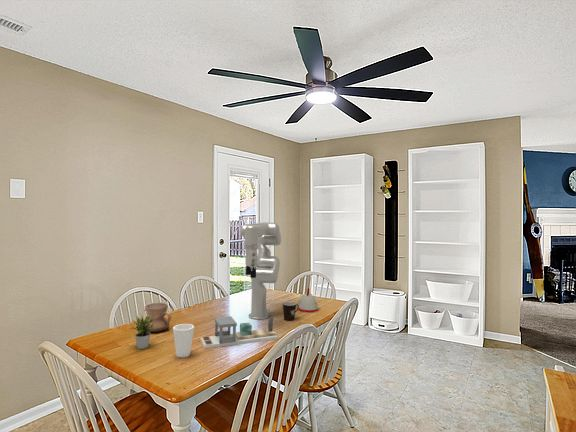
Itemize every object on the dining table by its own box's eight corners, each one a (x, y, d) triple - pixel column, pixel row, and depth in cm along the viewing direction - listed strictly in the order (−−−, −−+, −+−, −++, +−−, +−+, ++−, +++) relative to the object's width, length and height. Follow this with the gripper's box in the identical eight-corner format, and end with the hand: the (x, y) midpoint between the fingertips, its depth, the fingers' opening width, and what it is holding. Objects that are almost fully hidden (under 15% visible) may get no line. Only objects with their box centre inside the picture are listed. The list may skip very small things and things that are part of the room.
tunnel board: (269, 331, 198) (270, 312, 197) (277, 339, 186) (278, 318, 186) (200, 339, 182) (200, 319, 182) (204, 348, 171) (205, 326, 171)
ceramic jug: (134, 331, 193) (134, 306, 192) (152, 323, 206) (153, 300, 206) (160, 337, 187) (161, 310, 186) (177, 328, 200) (178, 303, 200)
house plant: (157, 352, 166) (158, 317, 166) (125, 354, 162) (126, 319, 162) (159, 341, 179) (160, 309, 179) (130, 343, 175) (131, 311, 175)
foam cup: (177, 350, 169) (178, 323, 168) (196, 351, 168) (197, 324, 167) (169, 358, 159) (169, 329, 159) (188, 359, 158) (189, 330, 158)
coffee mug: (284, 322, 216) (284, 305, 216) (280, 317, 224) (281, 302, 224) (302, 320, 219) (302, 305, 219) (298, 316, 228) (298, 301, 228)
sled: (271, 330, 195) (271, 315, 195) (276, 334, 188) (276, 319, 188) (234, 334, 187) (234, 319, 187) (238, 339, 180) (238, 323, 180)
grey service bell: (318, 308, 251) (319, 287, 251) (316, 313, 237) (317, 291, 237) (299, 306, 253) (299, 286, 253) (296, 311, 240) (297, 290, 240)
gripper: (262, 248, 196) (261, 278, 196) (253, 245, 212) (252, 273, 212) (249, 248, 193) (248, 279, 193) (241, 245, 209) (240, 274, 209)
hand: (250, 276), depth 203 cm, fingers open, 9 cm apart
